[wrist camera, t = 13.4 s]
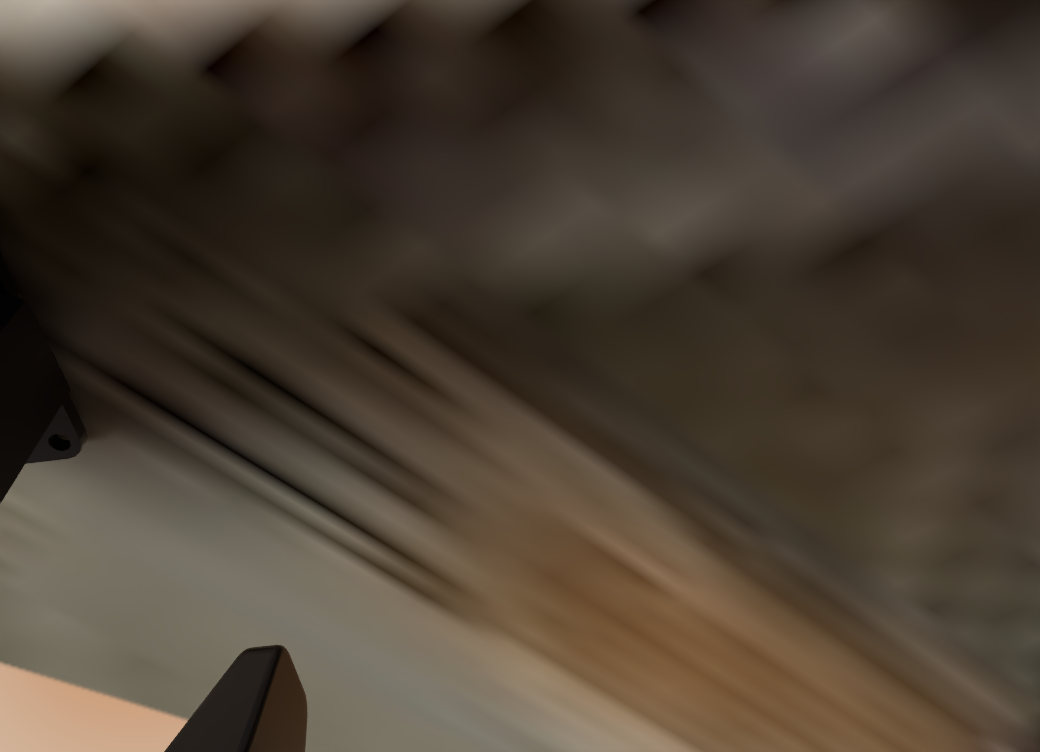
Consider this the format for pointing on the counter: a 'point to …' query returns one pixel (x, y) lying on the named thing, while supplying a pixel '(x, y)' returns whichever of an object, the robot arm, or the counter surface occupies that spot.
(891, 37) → the counter surface
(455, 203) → the counter surface
